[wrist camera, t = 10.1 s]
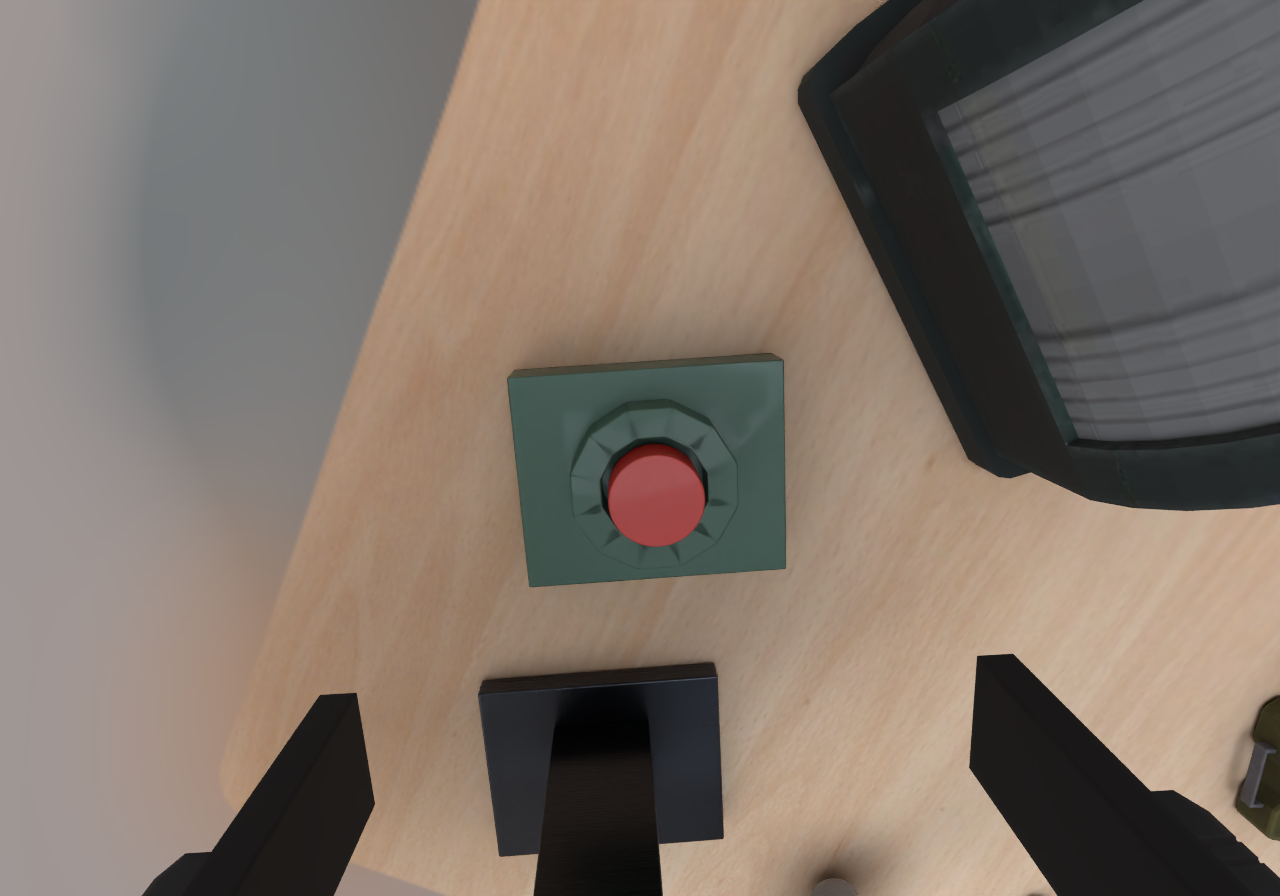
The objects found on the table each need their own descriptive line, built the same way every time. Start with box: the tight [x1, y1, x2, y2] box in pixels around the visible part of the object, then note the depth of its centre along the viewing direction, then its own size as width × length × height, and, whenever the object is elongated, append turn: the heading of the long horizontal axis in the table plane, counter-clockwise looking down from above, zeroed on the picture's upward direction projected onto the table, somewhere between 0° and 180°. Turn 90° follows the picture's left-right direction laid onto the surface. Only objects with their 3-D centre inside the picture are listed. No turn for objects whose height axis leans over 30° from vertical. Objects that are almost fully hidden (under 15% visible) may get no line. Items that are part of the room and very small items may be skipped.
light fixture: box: [798, 0, 1280, 511], centre depth 23 cm, size 17×14×20 cm
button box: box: [507, 353, 786, 587], centre depth 30 cm, size 11×9×4 cm
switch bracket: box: [478, 663, 724, 896], centre depth 29 cm, size 11×9×14 cm
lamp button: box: [608, 444, 705, 547], centre depth 28 cm, size 4×4×2 cm
